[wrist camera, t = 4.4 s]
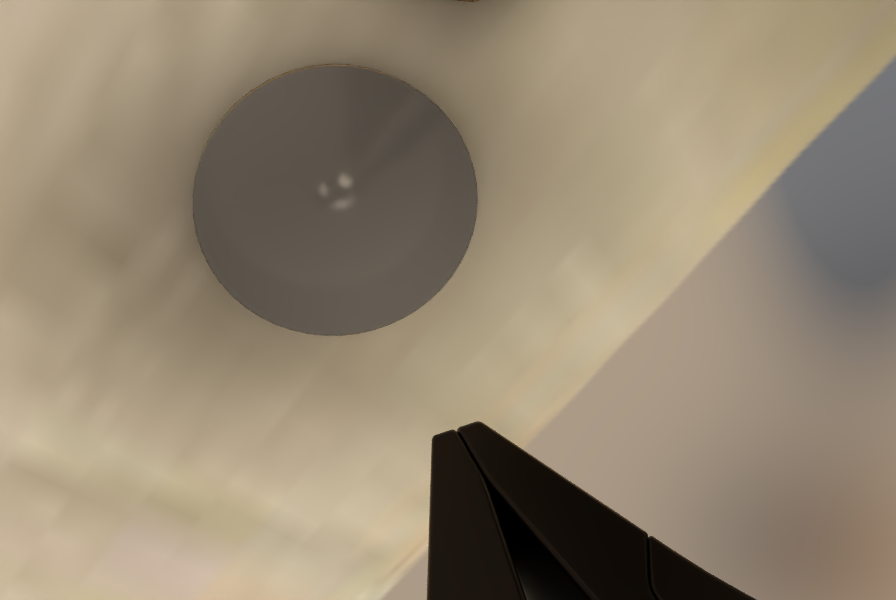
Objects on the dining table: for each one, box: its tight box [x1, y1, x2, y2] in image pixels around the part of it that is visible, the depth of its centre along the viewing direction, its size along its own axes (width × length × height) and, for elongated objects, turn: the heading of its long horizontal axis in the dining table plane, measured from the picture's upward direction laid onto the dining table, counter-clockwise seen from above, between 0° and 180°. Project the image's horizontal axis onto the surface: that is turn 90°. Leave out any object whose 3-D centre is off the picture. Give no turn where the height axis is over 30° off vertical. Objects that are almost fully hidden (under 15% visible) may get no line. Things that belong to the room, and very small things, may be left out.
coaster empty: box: [193, 64, 477, 336], centre depth 21 cm, size 10×10×1 cm
